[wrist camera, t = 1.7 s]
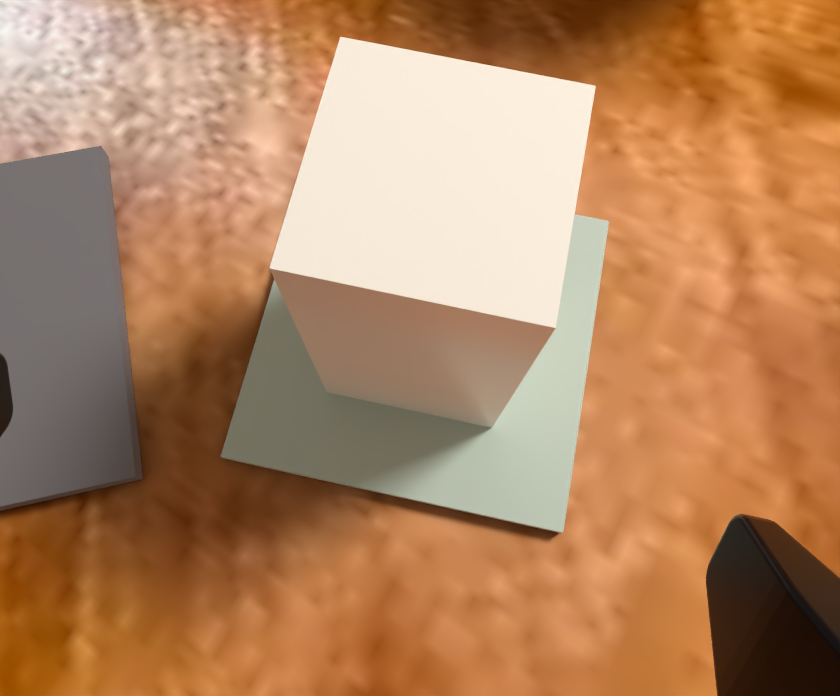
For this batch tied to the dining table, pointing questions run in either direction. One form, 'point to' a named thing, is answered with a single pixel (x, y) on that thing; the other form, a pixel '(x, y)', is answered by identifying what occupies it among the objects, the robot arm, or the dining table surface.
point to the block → (432, 228)
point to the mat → (63, 332)
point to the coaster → (430, 418)
